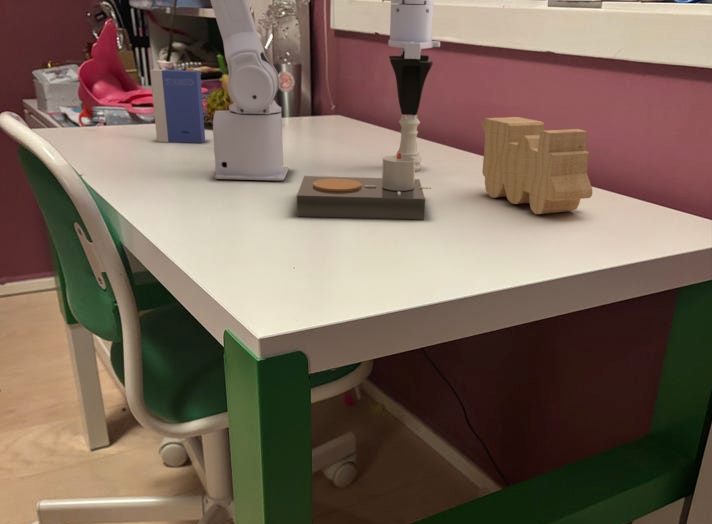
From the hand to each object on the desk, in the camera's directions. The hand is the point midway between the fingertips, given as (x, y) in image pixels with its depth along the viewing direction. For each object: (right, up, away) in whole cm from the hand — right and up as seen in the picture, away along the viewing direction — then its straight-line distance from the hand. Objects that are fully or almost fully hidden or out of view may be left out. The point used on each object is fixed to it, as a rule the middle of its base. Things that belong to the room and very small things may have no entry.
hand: (408, 111), depth 105 cm
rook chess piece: (0, -6, +10) cm, 12 cm away
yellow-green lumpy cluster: (-34, +12, +45) cm, 58 cm away
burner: (-9, -14, -14) cm, 22 cm away
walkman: (-40, +3, +25) cm, 47 cm away
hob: (-6, -16, -13) cm, 21 cm away
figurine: (-27, 0, +20) cm, 34 cm away
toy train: (+16, -15, -8) cm, 23 cm away
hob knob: (-1, -14, -14) cm, 20 cm away
